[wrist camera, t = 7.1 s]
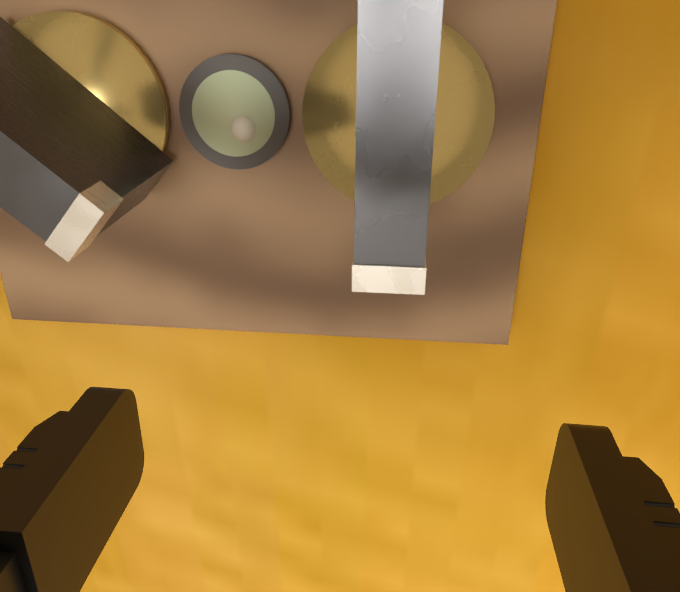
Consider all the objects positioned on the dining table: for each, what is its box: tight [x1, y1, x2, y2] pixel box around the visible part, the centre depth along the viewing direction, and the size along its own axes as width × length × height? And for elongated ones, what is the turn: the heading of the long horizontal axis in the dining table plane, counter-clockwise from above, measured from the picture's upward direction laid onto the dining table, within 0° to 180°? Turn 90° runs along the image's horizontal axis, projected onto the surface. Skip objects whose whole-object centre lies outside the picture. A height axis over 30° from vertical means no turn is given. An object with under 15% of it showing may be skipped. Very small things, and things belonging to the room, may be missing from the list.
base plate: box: [0, 0, 557, 345], centre depth 27 cm, size 22×26×3 cm
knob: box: [302, 0, 495, 295], centre depth 23 cm, size 9×8×8 cm
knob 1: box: [0, 11, 173, 262], centre depth 24 cm, size 9×8×8 cm
